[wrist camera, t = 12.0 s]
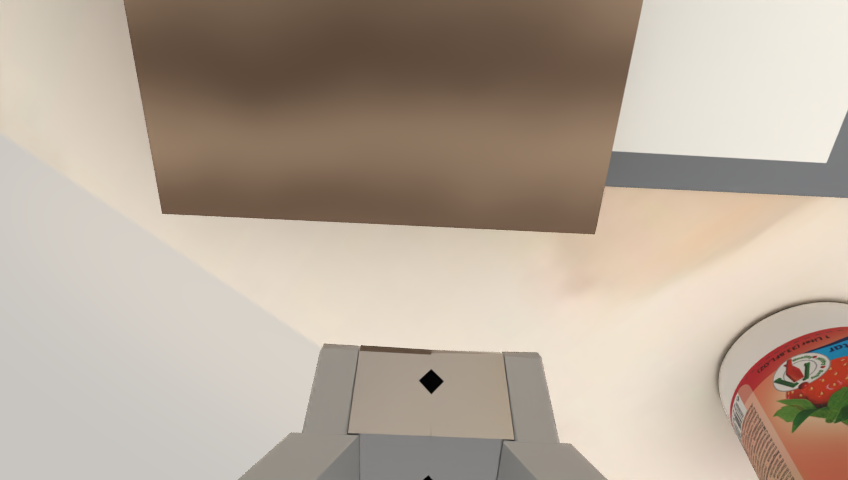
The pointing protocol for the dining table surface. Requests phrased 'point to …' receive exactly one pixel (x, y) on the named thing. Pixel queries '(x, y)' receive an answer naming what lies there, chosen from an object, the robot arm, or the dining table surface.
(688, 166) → the mat
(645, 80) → the tile
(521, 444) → the robot arm
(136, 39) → the board
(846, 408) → the fruit juice
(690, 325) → the dining table surface
